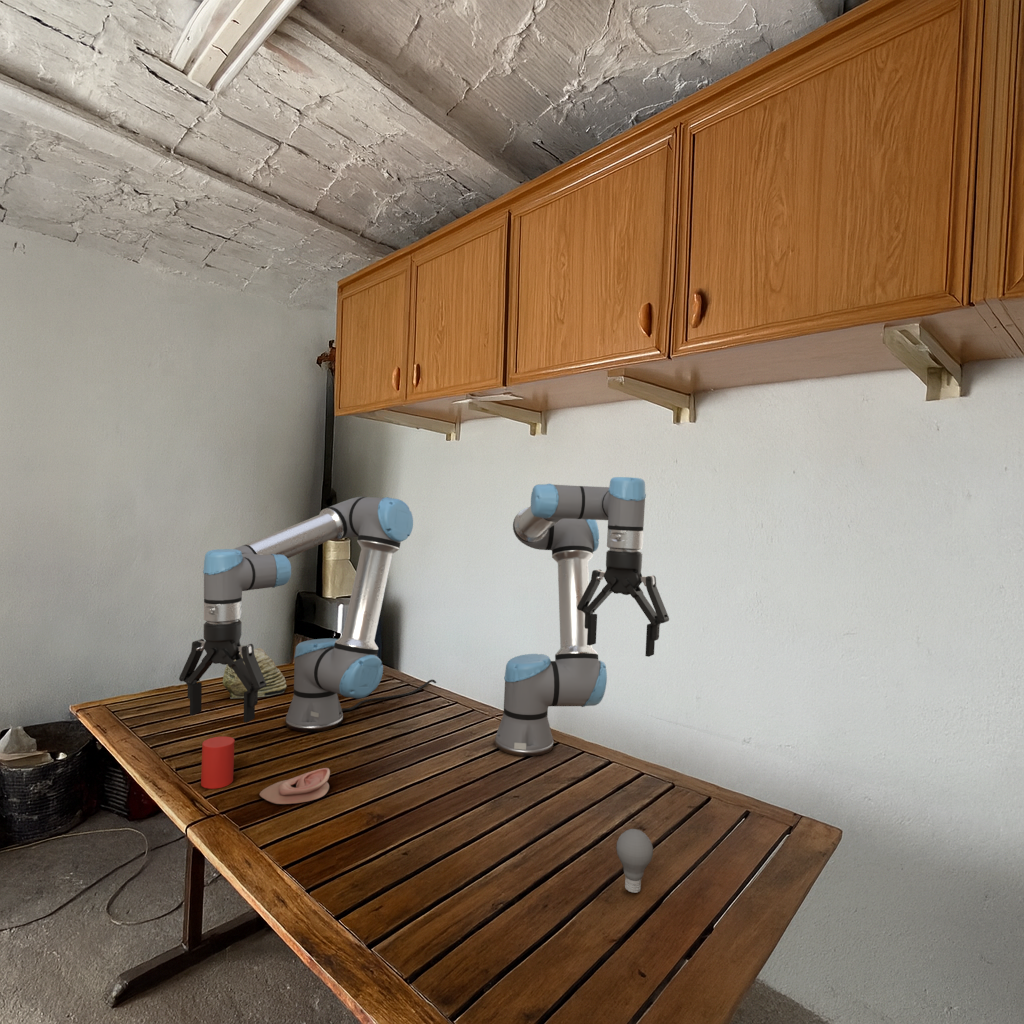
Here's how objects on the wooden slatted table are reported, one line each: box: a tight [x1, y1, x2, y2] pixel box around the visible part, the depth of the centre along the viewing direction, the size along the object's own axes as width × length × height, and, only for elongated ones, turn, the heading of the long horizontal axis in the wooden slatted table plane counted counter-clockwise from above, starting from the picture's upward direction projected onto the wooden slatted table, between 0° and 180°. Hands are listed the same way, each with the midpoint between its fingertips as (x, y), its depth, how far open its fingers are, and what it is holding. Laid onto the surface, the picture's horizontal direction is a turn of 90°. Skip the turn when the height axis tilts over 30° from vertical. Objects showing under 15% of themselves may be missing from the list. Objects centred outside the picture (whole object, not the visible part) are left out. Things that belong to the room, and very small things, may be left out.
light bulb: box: [615, 828, 654, 894], centre depth 106 cm, size 6×6×10 cm
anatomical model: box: [259, 767, 331, 805], centre depth 135 cm, size 13×4×12 cm
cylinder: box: [200, 735, 236, 790], centre depth 138 cm, size 6×6×9 cm
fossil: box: [222, 647, 288, 699], centre depth 198 cm, size 9×18×15 cm, turn 132°
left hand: (222, 717), depth 139 cm, fingers open, 13 cm apart
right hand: (619, 649), depth 135 cm, fingers open, 13 cm apart
